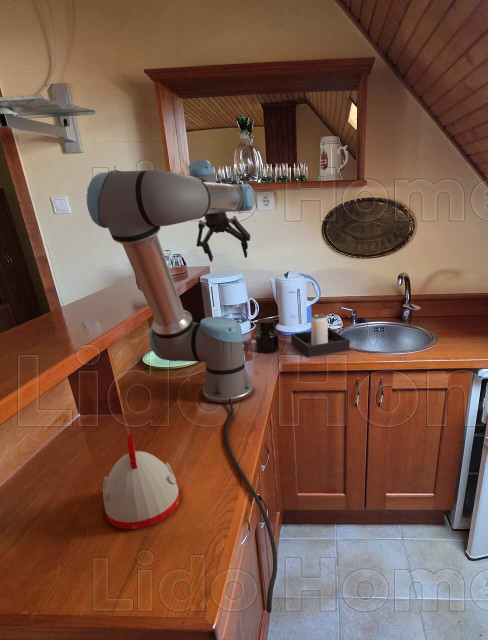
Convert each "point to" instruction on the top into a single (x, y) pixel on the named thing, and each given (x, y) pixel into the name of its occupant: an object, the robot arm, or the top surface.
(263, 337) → the ink bottle
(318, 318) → the can
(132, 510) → the toy helmet
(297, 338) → the pan
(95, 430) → the top surface
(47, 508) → the top surface
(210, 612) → the top surface
